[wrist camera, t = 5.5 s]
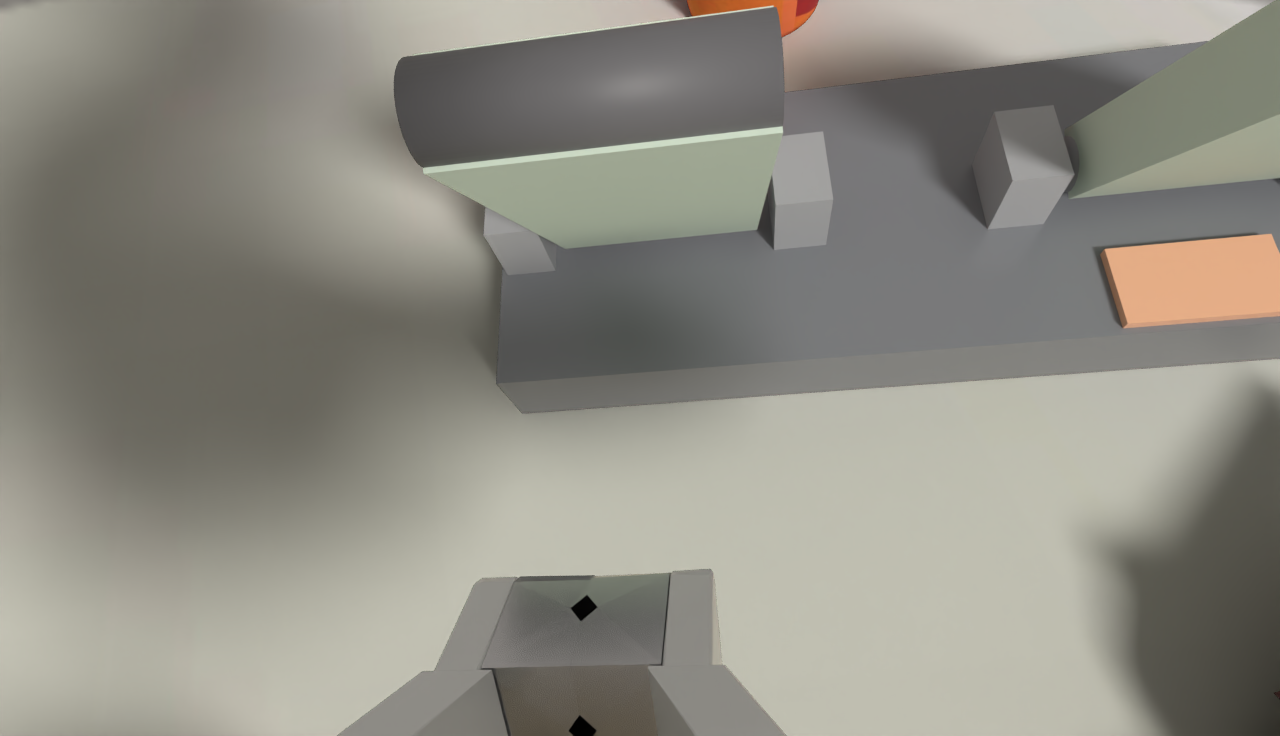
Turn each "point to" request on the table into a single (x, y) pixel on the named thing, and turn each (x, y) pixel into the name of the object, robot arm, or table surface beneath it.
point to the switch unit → (905, 259)
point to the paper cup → (791, 3)
